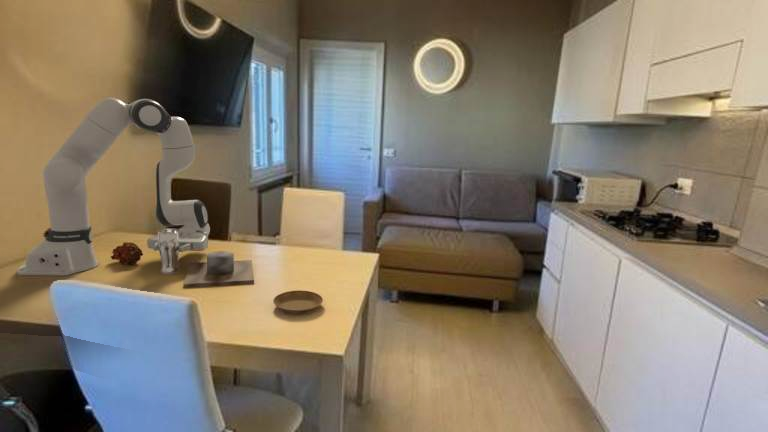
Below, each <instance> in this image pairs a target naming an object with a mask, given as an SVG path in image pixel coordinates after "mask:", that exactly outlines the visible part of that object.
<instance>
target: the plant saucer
mask: <svg viewBox="0 0 768 432" xmlns="http://www.w3.org/2000/svg"><path fill="white" fill-rule="evenodd" d="M272 301H273V302H272V303H273V304H274V306H275V307H276V308H277V309H278V310H280V312H282V313H284V314H287V315H293V316H294V315H295V316H299V315H300V316H301V315H306V314H309V313H312V312H315V310H317V309H318V308H319V307H320V306H321V305H322V303H323V301H324V298H323V297H322V296H321V295H320V294H319V293H317V292H313V291H309V290H290V291H285V292H281V293H280V294H278V295H276V296H275V297H274V298H273V299H272Z"/></svg>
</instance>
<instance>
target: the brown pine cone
mask: <svg viewBox="0 0 768 432" xmlns="http://www.w3.org/2000/svg"><path fill="white" fill-rule="evenodd" d="M110 253H111V254H112V255H110V258H111V260H116V261H118V263H119V264H121V265H125V264H128V265H134V264H135V263H136V262H139V261H140V260H141V257H142V256H144V253H143V251H142V249H141V248H140V247H139V246H138V245H137V244H135V243H134V242H131V241H130V242H128V241H127V242H126V241H125V242H123V243H122V245H118V246H116V247H115V248H113V250H112V251H111V252H110ZM133 263H134V264H133Z"/></svg>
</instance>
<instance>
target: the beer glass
mask: <svg viewBox="0 0 768 432" xmlns="http://www.w3.org/2000/svg"><path fill="white" fill-rule="evenodd" d="M178 229H179V228H178ZM178 229H177V228H172V227H171V228H170V227H167V228H162V229H159V230H158V231H157V235H158V248H159V250H158V251H159V255H160V259H161V265H160V266H161V267H160V274H164V275H172V274H178V273H179V272H180V268H181V267H180V265H179V256H180V254H179V253H180V252H179V247H180V237H179V230H178Z"/></svg>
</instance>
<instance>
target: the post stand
mask: <svg viewBox="0 0 768 432" xmlns="http://www.w3.org/2000/svg"><path fill="white" fill-rule="evenodd" d="M234 259H235V256H234V253H233V252H231V251H225V250H223V251H222V250H221V251H220V250H219V251H217V250H216V251H212V252H209V253H207V254H206V261H202V262H201V261H200V262H189V264H188V267H187V268H188V269H187V271H186V273H185V274H186V275H185V278H184V281H183V288H199V287H216V286H230V285H231V286H232V285H233V286H234V285H248V284H249V285H250V284H251V285H252V284H255V278H254V269H253V261H252V260H251V259H250V260H249V259H248V260H247V259H246V260H245V259H243V260H234Z"/></svg>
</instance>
